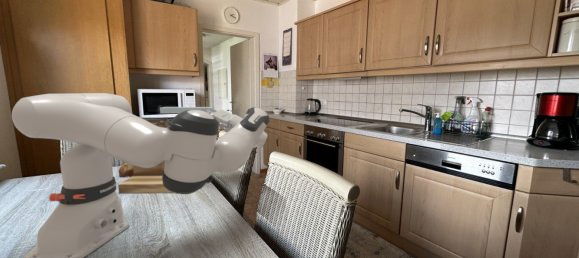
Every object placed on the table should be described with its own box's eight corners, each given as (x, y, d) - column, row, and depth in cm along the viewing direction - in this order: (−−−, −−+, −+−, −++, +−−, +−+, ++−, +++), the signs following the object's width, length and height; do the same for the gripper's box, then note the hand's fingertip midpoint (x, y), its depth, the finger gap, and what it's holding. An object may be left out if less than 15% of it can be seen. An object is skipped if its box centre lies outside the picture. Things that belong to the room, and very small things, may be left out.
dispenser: (162, 182, 108) (157, 119, 103) (134, 183, 107) (128, 120, 103) (173, 174, 119) (169, 117, 114) (148, 174, 118) (142, 117, 114)
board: (181, 192, 98) (180, 184, 97) (119, 193, 97) (118, 184, 96) (190, 183, 108) (190, 175, 107) (133, 183, 107) (133, 175, 106)
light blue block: (211, 113, 108) (211, 107, 107) (160, 113, 107) (159, 107, 107) (214, 112, 112) (214, 107, 111) (164, 112, 111) (164, 107, 111)
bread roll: (128, 178, 124) (119, 164, 122) (148, 167, 126) (139, 154, 124) (121, 185, 115) (111, 171, 113) (143, 174, 117) (134, 159, 115)
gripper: (224, 134, 101) (193, 117, 99) (234, 127, 121) (208, 113, 120) (232, 121, 100) (201, 104, 99) (240, 116, 120) (214, 101, 119)
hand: (205, 109), depth 109 cm, fingers closed on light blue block, 4 cm apart
